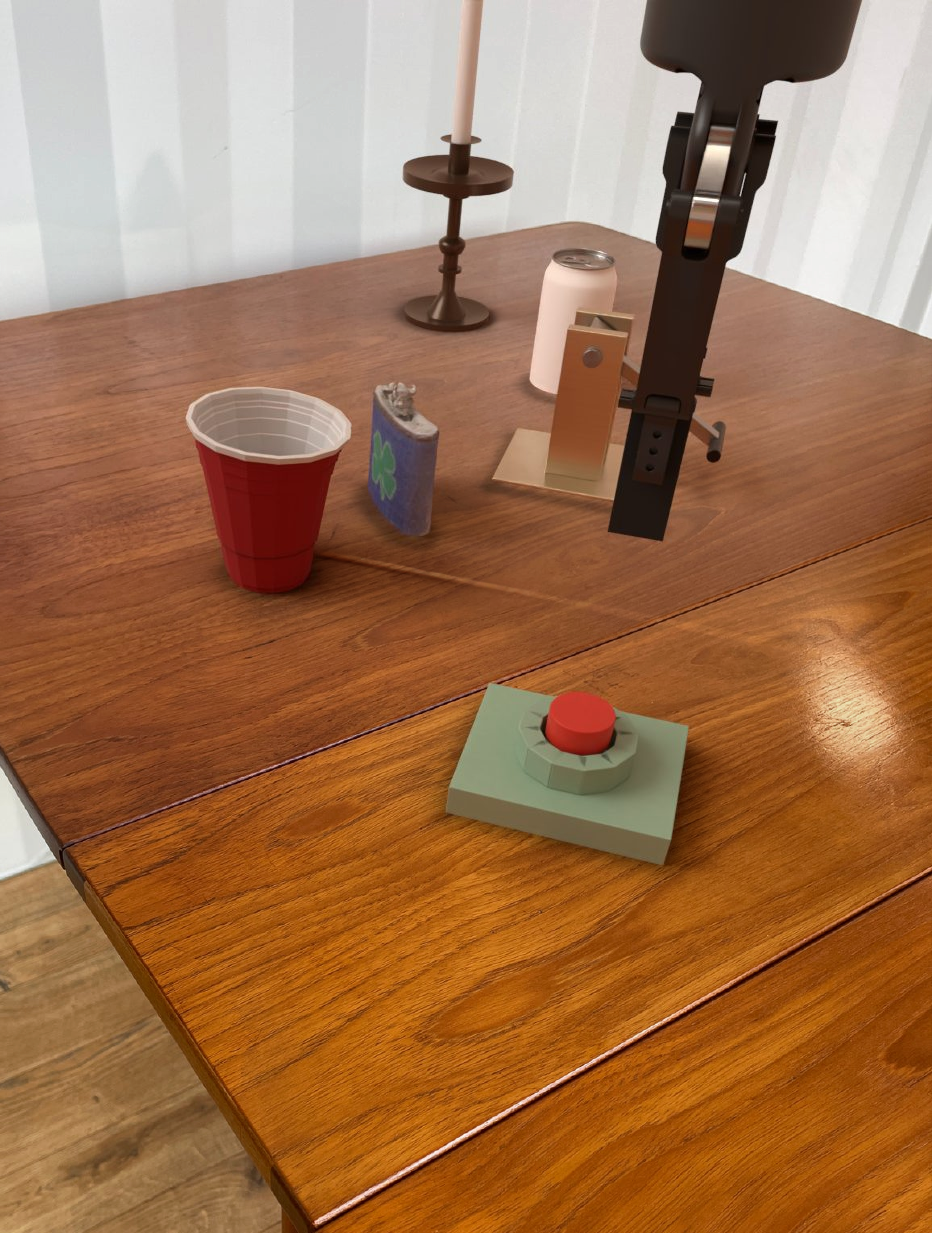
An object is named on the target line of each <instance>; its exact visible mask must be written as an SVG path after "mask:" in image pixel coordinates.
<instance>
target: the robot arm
mask: <svg viewBox="0 0 932 1233" xmlns="http://www.w3.org/2000/svg"><path fill="white" fill-rule="evenodd" d="M862 3H863V0H646V4H645V10H644V15H643V21H642V27H641V33H640V41H639V47H640V52H641V54H642V56H643V58H644V59H645V60H646V61H647V62H648V63H650V64H651V65H653V66H655V67H657V68H659V69H662V70H664V71H666V72H671V73H674V74H692V75H694V76H695V77H696V78H697V79H698V80H699V81H700V86H699V91H698V95H697V100H696V104H695V109H694V112H687V111H677V112H676V115H675V120H674V124H673V125H670V129H669V133H668V137H667V142H666V148H665V152H664V157H663V164H662V175H663V178H664V180H665V187H664V192H663V198H662V202H661V208H660V213H659V218H658V224H657V229H656V234H655V245H656V248H657V249H659V251H660V252H661V255H660V261H659V266H658V272H657V277H656V281H655V282H656V283H655V287H654V293H653V298H652V304H651V309H650V314H649V319H648V325H647V331H646V335H645V336H646V337H645V342H644V347H643V353H642V357H641V358H642V359H641V363H640V367H639V368H640V373H639V379H638V384H637V388H635V389H630V388H623V387H621V390H620V395H619V400H618V405H617V409H618V408H619V409H623V410H624V409H625V410H631V411H630V417H629V422H628V427H627V432H626V436H625V441H624V451H623V456H622V461H621V466H620V471H619V476H618V482H617V487H616V492H615V497H614V502H612V507H611V512H610V516H609V524H608V528H607V533H611V534H618V535H623V536H629V537H634V538H639V539H647V540H651V541H656V542H657V541H658V542H664V538H665V533H666V531H667V530H666V529H667V526H668V521H669V518H670V512H671V509H672V505H673V500H674V497H675V491H676V487H677V483H678V479H679V474H680V470H681V467H682V463H683V458H684V454H685V450H686V447H687V441H688V438H689V433H690V431H689V429H690V425H691V421H692V417H693V413H694V412H695V413H696V407H697V405H698V404H697V403H698V398H697V397H704V398H705V397H706V398H711V396H712V393H713V390H714V389H713V388H714V384H715V378H712V377H706V376H702V375H701V371H702V367H703V363H704V360H706V356H707V352H708V348H709V347H708V342H709V338H710V335H711V330H712V325H713V322H714V321H713V320H714V318H715V313H716V308H717V304H718V301H719V295H720V291H721V287H722V284H723V283H722V282H723V279H724V276H725V271H726V266H727V263H729V261H731V260H734V259H735V258H737V257H738V256H739V255H740V254H741V252H742V250H743V246H744V243H745V238H746V234H747V230H748V225H749V222H750V218H751V213H752V210H753V205H754V201H755V197H756V193H757V191H758V190H759V189H760V188H761V187H762V186H763V185H764V184H765V181H766V180H767V177H768V172H769V168H770V164H771V160H772V156H773V152H774V148H775V143H776V139H777V135H776V132H777V129H778V125H779V120H775V119H764V118H760V115H761V114H760V113H759V109H760V107H761V101H762V97H763V93H764V88H765V87H766V86H767V85H769V84H771V83H774V82H776V81H777V82H778V81H779V82H787V83H790V84H797V83H798V84H799V83H807V82H808V83H809V82H813V81H819V80H822V79H825V78H827V77H830V76H831V75H833V74H835V73H836V72H838V71H839V70H840V69H841V68H842V66H843V65H844V64H845V63H846V60H847V58H848V54H849V50H850V48H851V43H852V40H853V36H854V33H855V28H856V25H857V21H858V17H859V13H860V9H861V5H862ZM696 396H697V397H696Z"/></svg>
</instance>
